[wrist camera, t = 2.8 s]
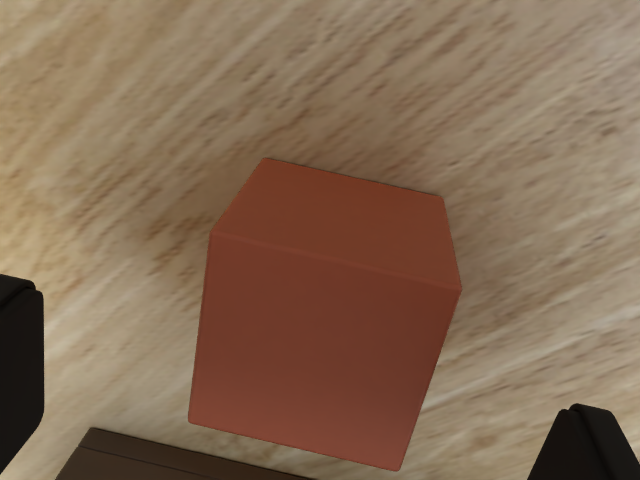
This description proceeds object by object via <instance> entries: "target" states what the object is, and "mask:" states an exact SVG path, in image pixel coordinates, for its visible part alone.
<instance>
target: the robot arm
mask: <svg viewBox="0 0 640 480" xmlns="http://www.w3.org/2000/svg"><path fill="white" fill-rule="evenodd" d="M43 413H44V299H43V294H42V292H40V291H37V290H36V287H35V285H34V283H33V282H32V281H30V280H26V279H21V278H17V277H12V276H8V275H3V274H0V474H1V473H2V472H3V470H4V469H5V468H6V467H7V465H8V464H9V463H10V462H11V460H12V459H13V458H14V457H15V455H16V454H17V453H18V452H19V450H20V449H21V448H22V446H23V445H24V444H25V443H26V441H27V440H28V439H29V438H30V436H31V435H32V434H33V433H34V431H35V430H36V429H37V427H38V426H39V424H40V422H41V419H42V417H43ZM527 480H640V464H639V462H638V460H637V458H636V456H635V454H634V452H633V451H632V449H631V447H630V445H629V443H628V441H627V439H626V437H625V436H624V434H623V432H622V430H621V428H620V426H619V424H618V422H617V420H616V419H615V417H614V415H613V414H612V413H611V412H610V411H608V410H605V409H600V408H596V407H591V406H587V405H582V404H578V403H576V404H573V405H572V406H571V407H570V408H569V410H566V409H562V410H561V411H559V413H558V415H557V417H556V419H555V421H554V423H553V425H552V427H551V429H550V432H549V434H548V436H547V438H546V440H545V442H544V444H543V447H542V449H541V451H540V453H539V455H538V457H537V459H536V462H535V464H534V466H533V468H532V470H531V472H530V474H529V477H528V479H527Z"/></svg>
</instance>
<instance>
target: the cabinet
mask: <svg viewBox="0 0 640 480" xmlns="http://www.w3.org/2000/svg"><path fill="white" fill-rule="evenodd" d="M55 480H309V479H304V478H300V477H296V476H292V475H287V474H283V473H279V472H275V471H271V470H266V469H262V468H258V467H254V466H250V465H245V464H241V463H237V462H233V461H228V460H224V459H220V458H216V457H212V456H207V455H203V454H199V453H195V452H190V451H186V450H182V449H178V448H174V447H169V446H165V445H161V444H157V443H153V442H148V441H144V440H140V439H136V438H131V437H127V436H123V435H119V434H115V433H110V432H106V431H102V430H98V429H93V428H90V429H89V430H88V432H87V433H86V435H85V436H84V438H83V439H82V441H81V442H80V443H79V445H78V447H77V448H76V449H75V451H74V452H73V454H72V455H71V456H70V458H69V459H68V461H67V462H66V464H65V465H64V467H63V468H62V470H61V471H60V473H59V474H58V476H57V477H56V479H55Z"/></svg>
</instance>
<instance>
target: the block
mask: <svg viewBox="0 0 640 480" xmlns="http://www.w3.org/2000/svg"><path fill="white" fill-rule="evenodd" d="M461 292H462V286H461V281H460V276H459V271H458V266H457V262H456V257H455V252H454V247H453V243H452V238H451V233H450V228H449V223H448V219H447V214H446V209H445V204H444V200H443V198H442V197H439V196H434V195H430V194H425V193H421V192H416V191H412V190H407V189H403V188H398V187H394V186H389V185H385V184H380V183H376V182H371V181H367V180H362V179H358V178H353V177H349V176H344V175H340V174H335V173H331V172H326V171H322V170H317V169H313V168H308V167H304V166H299V165H295V164H290V163H286V162H281V161H277V160H272V159H268V158H263V159H262V160H261V162H260V163H259V165H258V166H257V167H256V169H255V170H254V172H253V173H252V174H251V176H250V177H249V179H248V180H247V181H246V183H245V184H244V185H243V187H242V188H241V190H240V191H239V192H238V194H237V195H236V197H235V198H234V199H233V201H232V202H231V204H230V205H229V206H228V208H227V209H226V210H225V212H224V213H223V215H222V216H221V217H220V219H219V220H218V222H217V223H216V224H215V226H214V227H213V229H212V230H211V231H210V234H209V243H208V251H207V260H206V268H205V277H204V285H203V294H202V302H201V310H200V319H199V327H198V336H197V344H196V353H195V361H194V370H193V378H192V387H191V395H190V404H189V412H188V421H189V422H190V423H192V424H196V425H200V426H204V427H209V428H213V429H217V430H221V431H226V432H230V433H234V434H238V435H243V436H247V437H251V438H255V439H259V440H264V441H268V442H272V443H276V444H281V445H285V446H289V447H293V448H298V449H302V450H306V451H310V452H315V453H319V454H323V455H327V456H332V457H336V458H340V459H344V460H349V461H353V462H357V463H361V464H366V465H370V466H374V467H378V468H382V469H387V470H391V471H399V469H400V468H401V465H402V462H403V459H404V456H405V453H406V450H407V448H408V445H409V442H410V439H411V436H412V433H413V430H414V427H415V424H416V422H417V419H418V416H419V413H420V410H421V407H422V404H423V401H424V398H425V396H426V393H427V390H428V387H429V384H430V381H431V378H432V375H433V373H434V370H435V367H436V364H437V361H438V358H439V355H440V352H441V349H442V347H443V344H444V341H445V338H446V335H447V332H448V329H449V326H450V323H451V321H452V318H453V315H454V312H455V309H456V306H457V303H458V300H459V297H460V295H461Z"/></svg>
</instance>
